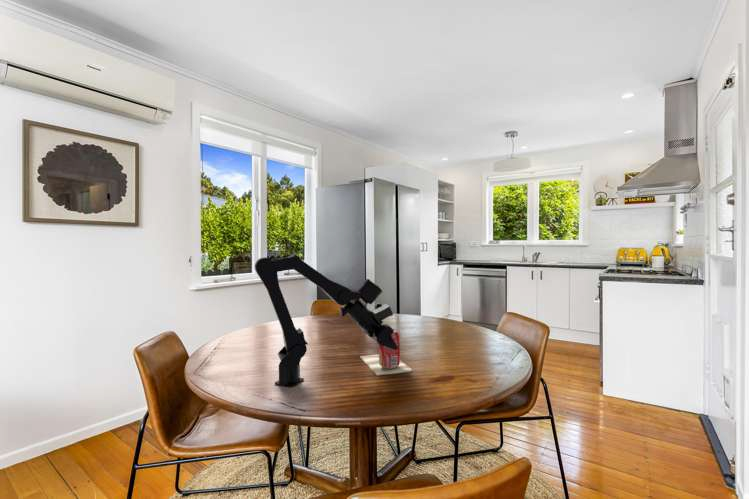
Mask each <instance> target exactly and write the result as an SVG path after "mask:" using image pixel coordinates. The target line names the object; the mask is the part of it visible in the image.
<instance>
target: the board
mask: <svg viewBox="0 0 749 499" xmlns="http://www.w3.org/2000/svg"><path fill="white" fill-rule="evenodd" d="M359 357H360V359H361V360H362V362H364V363H365V364H366V366H367V367H368V368H369V369H370V371H372V372H373V373H374V374H375V375H376V376H383V375H384V376H385V375H393V374H394V375H395V374H403V373H409V372H410V373H411V372H412V370H413V369H411V368H410V367H409V366H408V365H407V364H406V363H404V362H403V361H402V360H400V362H399V365H398V366H397V367H396V368H392V369H387V368H383V367H382V366H381V365H380V364H379V353H378V354H372V355H371V354H370V355H360V356H359Z"/></svg>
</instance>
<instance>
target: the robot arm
mask: <svg viewBox="0 0 749 499" xmlns="http://www.w3.org/2000/svg"><path fill="white" fill-rule="evenodd" d="M288 270H294V271H295V272H296V273H298V274H299V275H301V276H303V277H304V278H306V279H307V280H308V281H310V282H311V283H312V284H314V285H316V287H318V288H320V289H321V290H322V291H323V292H324V293H325V295H327V296H328V297H329V298H330V300H331V301H333V302H334V303H335V304H338V305H340V306H341V307H339V315H340V317H342V318H343V317H345V316H346V315H348V316H349V317H350V318H351V319H352V320H353V321H354V322H355V323H356V324H357V325H358V326H359V327H360V329H361V331H362V332H363V333H364V334H366V335H367V336H368V337H369V338H371V339H373V340H374V341H375V342H376V343H377V344H378V346H379V345H383V346H386V347H389V348H391V349H394V350H397V349H398V347H397V345H396V343H395V342H394V340H393V338H392V336H391V334H392V333H393V332H394V330H393V329H394V328H392V327H391V326H390V325H388V324H385V323H384V321H383V320H385V319H387V318H389V317H392V316H393V315H394V312H393V310H392V308H391V306H390V305H389V304H387V303H384V304H381V303H379V302H377V303H375V304H374V309H373V310H372V311H371V310H370V309H368V308H367V307H366V306H367V305H372V304H373V303H374V302H376V300H377V299H378V298H379V296H380V295H382V293H383V290H382V288H380V287H379V285H377V284H376V283H374V282H373V281H371V279H369V278H366V279H365V280H364V281H363V283H362V284H361V285H360V286H359V287H358V288H357V290H355V289H353V288H352V289H350V288H349V287H346V286H344V285H342V284H340V283H337V282H335V281H333V280H330V279H329V278H328V277H326V276H325V275H323V274H322V273H321V272H319V271H318V270H316V269H315V268H313V267H312V266H310V265H309V264H308V263H306V262H305V261H304V260H302V259H301V258H300V257H299V256H297V255H289V256H286V257H278V258H272V259H271V258H269V257H266V256H265V257H260V258H258V259H257V260H256V261H255V263H254V271H255V273H256V274H257V276H258V278H259V279H260V281H261V283H262V284H263V285H264V288H266V291H267V293H268V296H269V299H270V301H271V303H272V304H271V305H272V307H273V309H274V312H275V314H276V317H277V319H278V322H279V325H280V328H281V332H282V338H283V344H284V346H283V347H282V348H281V349H280V350H279V351H278V352H277V356H278V358H279V360H280V361H279V364H278V380H276V381H274V385H277V386H283V387H290V388H292V387H294V386H297V385H298V384H300V383H302V382H303V381H304V380H305V378H304V377H301V373H300V372H301V371H300V370H301V368H300V367H301V366H300V365H301V364H300V363H301V360H302V358H303V357H304V356H305V355H306V354H307V350H308V349H307V345H308V344H309V343H308V342H307V341H306V339H305V334H304V331H303V330H302V328H300V327H299V328H298V329H297V328H296V327H295V324H294V321H293V318H292V316H291V313H290V310H289V309H288V306H287V303H286V301H285V298H284V295H283V293H282V290H281V287H280V284H279V275H278V272H279V273H280V272H283V271H288ZM364 304H365V305H364ZM383 323H384V324H383Z"/></svg>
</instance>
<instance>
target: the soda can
mask: <svg viewBox="0 0 749 499" xmlns="http://www.w3.org/2000/svg"><path fill="white" fill-rule="evenodd" d="M392 329H393V330H394V332H393V333H392V334H391V336H392V338H393V340H394V342H395V343H396V345H397V347H398V349H397V350H394V349H391V348H389V347H386V346H383V345H379V344H378V354H379V364H380V365H381V366H382V367H383V368H387V369H392V368H396V367H397V366H398V365H399V362H400V361H401V343H400V342H401V337H400V334H399V330H398V329H396V328H392Z"/></svg>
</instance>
